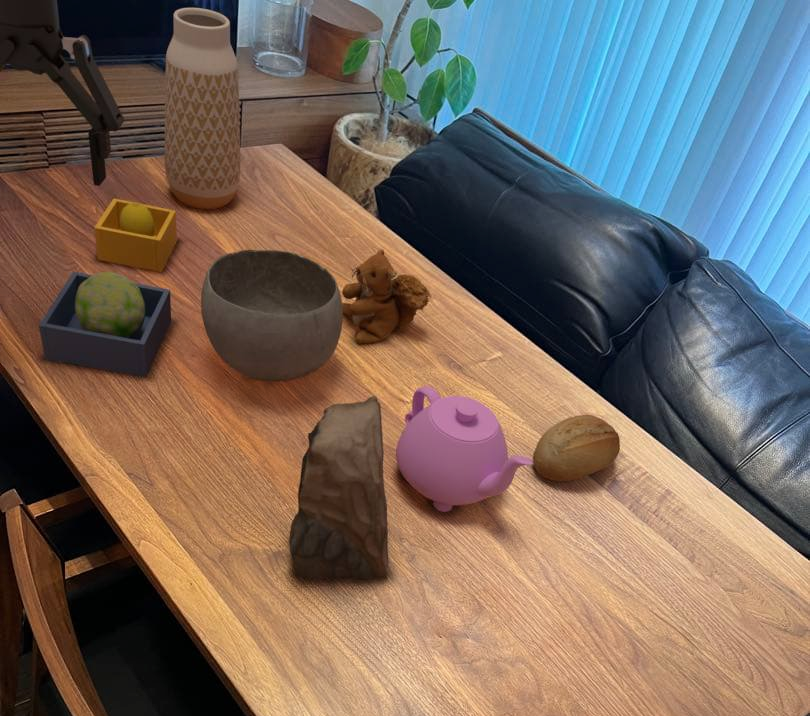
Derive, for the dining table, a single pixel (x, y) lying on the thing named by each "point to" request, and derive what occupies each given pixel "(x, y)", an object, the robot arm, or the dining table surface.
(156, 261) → the yellow bin
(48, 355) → the blue bin
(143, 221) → the lemon
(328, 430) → the jagged boulder chunk
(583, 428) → the bread roll
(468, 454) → the teapot
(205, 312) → the bowl
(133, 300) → the decorative ball
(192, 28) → the vase
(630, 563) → the dining table surface
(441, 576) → the dining table surface
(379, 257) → the stuffed squirrel
